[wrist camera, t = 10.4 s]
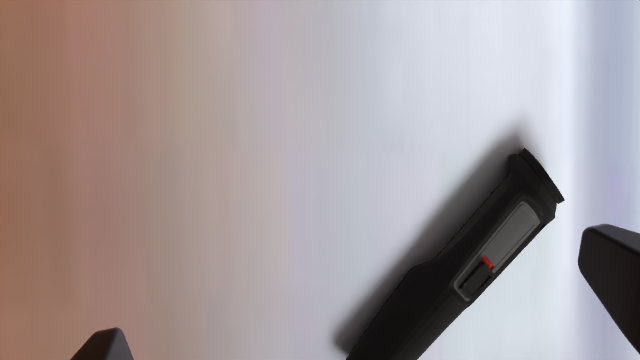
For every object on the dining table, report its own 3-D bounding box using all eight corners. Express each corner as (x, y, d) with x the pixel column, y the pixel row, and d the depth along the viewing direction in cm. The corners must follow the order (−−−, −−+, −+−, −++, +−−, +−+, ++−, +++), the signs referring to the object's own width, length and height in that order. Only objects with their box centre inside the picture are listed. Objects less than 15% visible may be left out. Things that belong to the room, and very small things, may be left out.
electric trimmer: (312, 355, 25) (337, 395, 22) (515, 140, 26) (563, 153, 23) (356, 388, 27) (384, 430, 24) (545, 185, 28) (593, 202, 25)
